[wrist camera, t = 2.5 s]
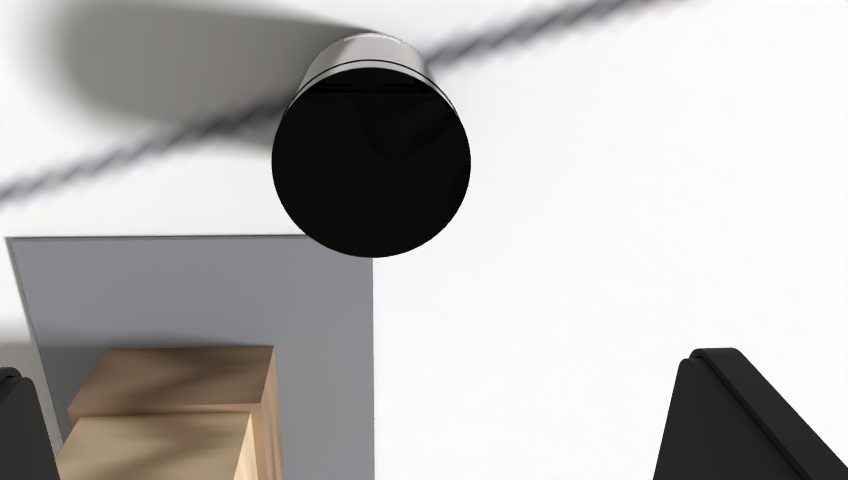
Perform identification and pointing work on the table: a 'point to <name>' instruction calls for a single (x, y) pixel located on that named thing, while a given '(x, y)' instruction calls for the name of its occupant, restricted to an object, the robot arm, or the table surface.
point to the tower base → (190, 390)
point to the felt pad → (218, 325)
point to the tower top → (160, 448)
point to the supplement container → (371, 149)
